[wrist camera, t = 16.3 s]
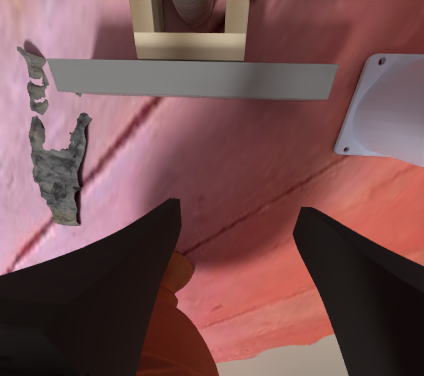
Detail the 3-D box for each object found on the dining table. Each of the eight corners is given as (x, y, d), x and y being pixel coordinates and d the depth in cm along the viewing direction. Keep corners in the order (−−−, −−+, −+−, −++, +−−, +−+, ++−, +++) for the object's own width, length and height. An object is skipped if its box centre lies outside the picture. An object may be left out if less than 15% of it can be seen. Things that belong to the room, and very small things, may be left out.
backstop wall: (310, 74, 14) (338, 64, 11) (303, 101, 15) (328, 99, 11) (88, 69, 15) (46, 58, 12) (95, 94, 16) (57, 91, 12)
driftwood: (83, 228, 25) (71, 237, 23) (38, 210, 24) (22, 219, 22) (104, 86, 16) (89, 84, 15) (35, 51, 16) (8, 43, 14)
